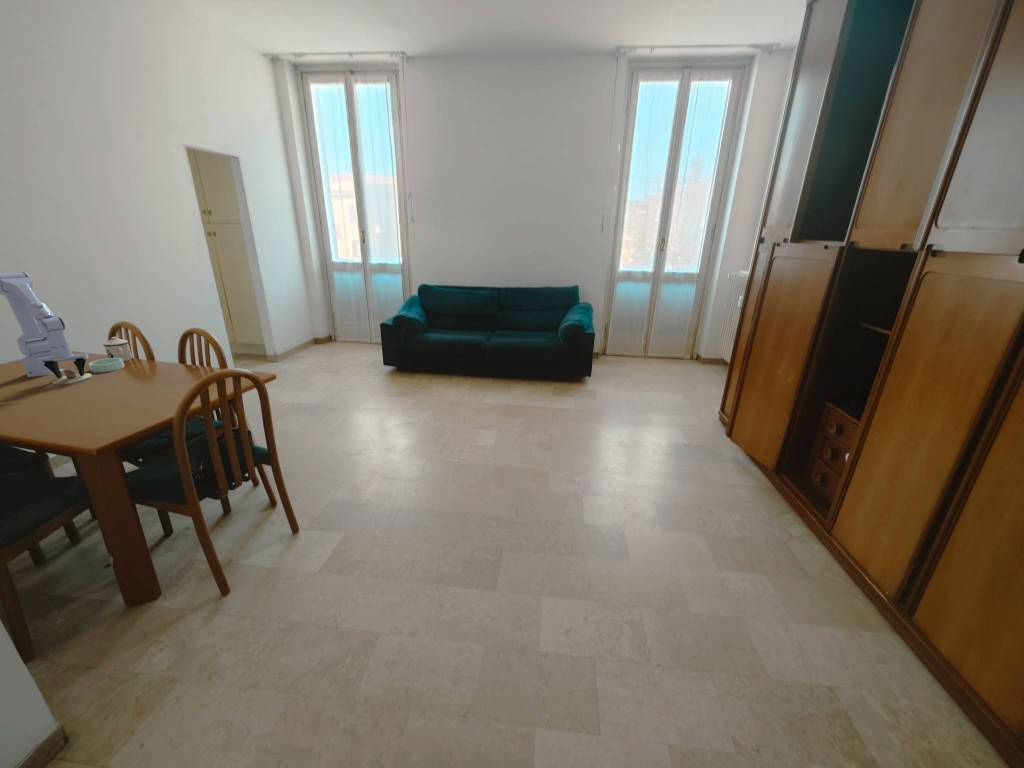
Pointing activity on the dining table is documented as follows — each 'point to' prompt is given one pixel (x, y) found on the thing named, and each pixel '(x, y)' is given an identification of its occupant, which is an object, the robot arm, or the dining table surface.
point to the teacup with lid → (118, 349)
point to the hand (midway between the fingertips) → (71, 376)
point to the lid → (71, 378)
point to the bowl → (106, 365)
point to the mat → (72, 383)
